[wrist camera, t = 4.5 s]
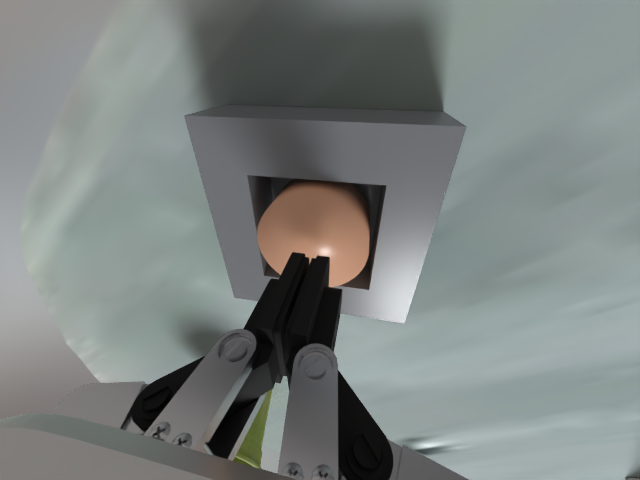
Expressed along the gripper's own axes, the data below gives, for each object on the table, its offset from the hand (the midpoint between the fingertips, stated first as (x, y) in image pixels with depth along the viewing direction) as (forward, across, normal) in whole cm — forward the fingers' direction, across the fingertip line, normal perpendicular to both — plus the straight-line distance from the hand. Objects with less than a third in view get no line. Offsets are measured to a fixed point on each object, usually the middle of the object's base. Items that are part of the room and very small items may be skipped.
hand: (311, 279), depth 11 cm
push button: (+5, +1, 0) cm, 5 cm away
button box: (+7, +1, 0) cm, 7 cm away
